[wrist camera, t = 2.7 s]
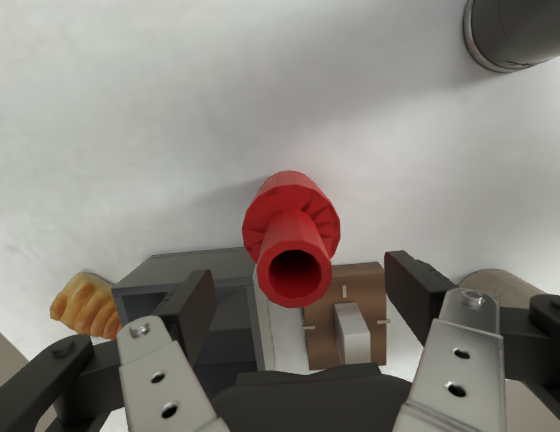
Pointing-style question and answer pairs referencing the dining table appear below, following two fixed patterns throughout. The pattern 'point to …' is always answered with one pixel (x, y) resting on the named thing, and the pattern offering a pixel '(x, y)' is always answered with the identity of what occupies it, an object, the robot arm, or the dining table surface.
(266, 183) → the bottle
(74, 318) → the pastry
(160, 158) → the dining table surface
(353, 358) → the grey switch handle
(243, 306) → the dark grey storage bin
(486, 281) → the thermos bottle
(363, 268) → the brown switch base plate
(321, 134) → the dining table surface
